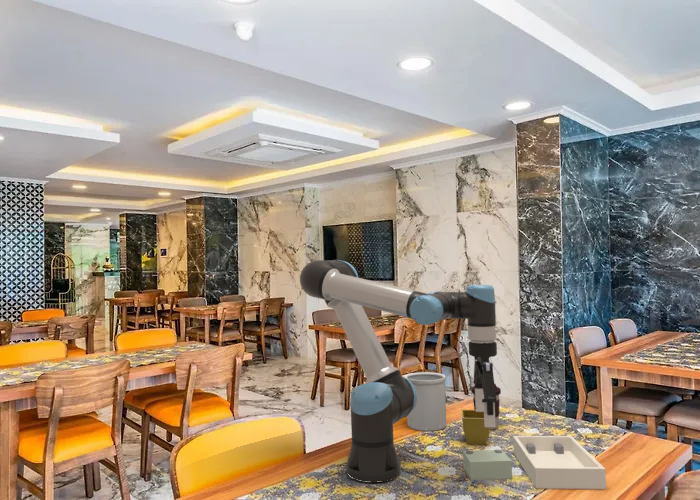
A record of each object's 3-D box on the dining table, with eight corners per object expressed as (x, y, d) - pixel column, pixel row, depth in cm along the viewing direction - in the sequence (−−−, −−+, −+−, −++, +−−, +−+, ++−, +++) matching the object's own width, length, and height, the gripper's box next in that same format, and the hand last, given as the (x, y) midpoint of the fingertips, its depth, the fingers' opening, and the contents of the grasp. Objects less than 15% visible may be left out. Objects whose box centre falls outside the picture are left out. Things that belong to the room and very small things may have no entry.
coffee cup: (505, 431, 168) (504, 386, 168) (476, 432, 168) (474, 387, 168) (497, 422, 178) (495, 380, 178) (469, 422, 178) (468, 380, 178)
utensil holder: (401, 420, 183) (400, 372, 184) (440, 417, 185) (439, 370, 186) (410, 433, 169) (409, 381, 169) (453, 430, 170) (451, 379, 171)
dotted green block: (470, 481, 131) (470, 461, 131) (463, 468, 139) (462, 450, 139) (512, 479, 131) (511, 459, 131) (502, 467, 139) (501, 448, 139)
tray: (536, 488, 125) (535, 468, 125) (513, 452, 149) (513, 435, 149) (606, 489, 123) (605, 468, 123) (572, 453, 147) (571, 436, 147)
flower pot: (491, 447, 153) (490, 418, 154) (463, 446, 155) (462, 417, 155) (489, 438, 162) (488, 410, 162) (462, 436, 164) (461, 409, 164)
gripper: (506, 348, 123) (509, 434, 123) (487, 334, 148) (490, 405, 147) (476, 348, 124) (479, 434, 123) (462, 334, 149) (464, 405, 148)
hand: (485, 418), depth 135 cm, fingers open, 13 cm apart
